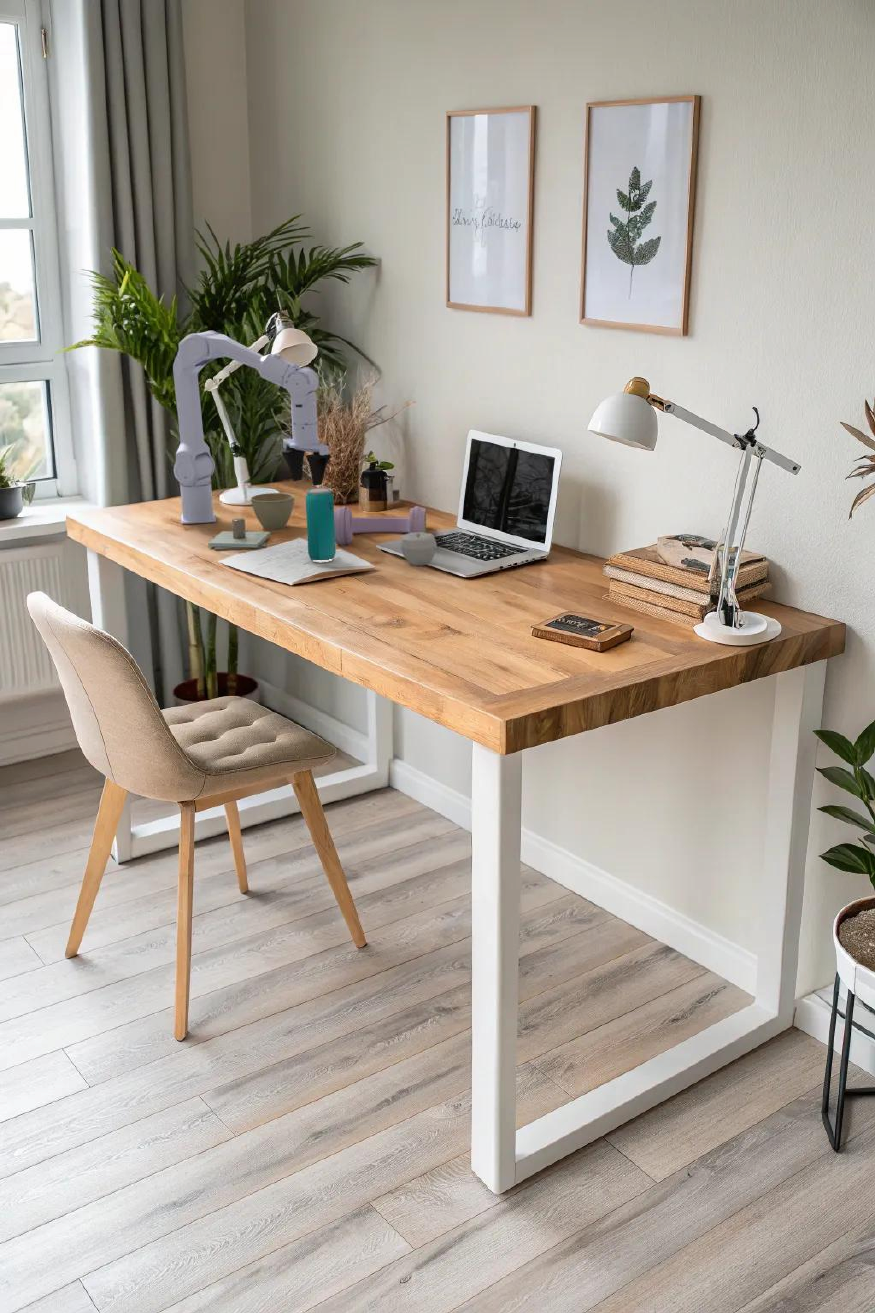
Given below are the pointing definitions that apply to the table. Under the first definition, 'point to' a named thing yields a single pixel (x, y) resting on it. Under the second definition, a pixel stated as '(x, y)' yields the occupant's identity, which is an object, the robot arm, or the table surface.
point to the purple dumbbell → (376, 524)
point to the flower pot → (273, 509)
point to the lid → (239, 536)
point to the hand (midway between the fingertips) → (307, 482)
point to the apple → (418, 548)
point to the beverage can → (320, 523)
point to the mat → (237, 547)
